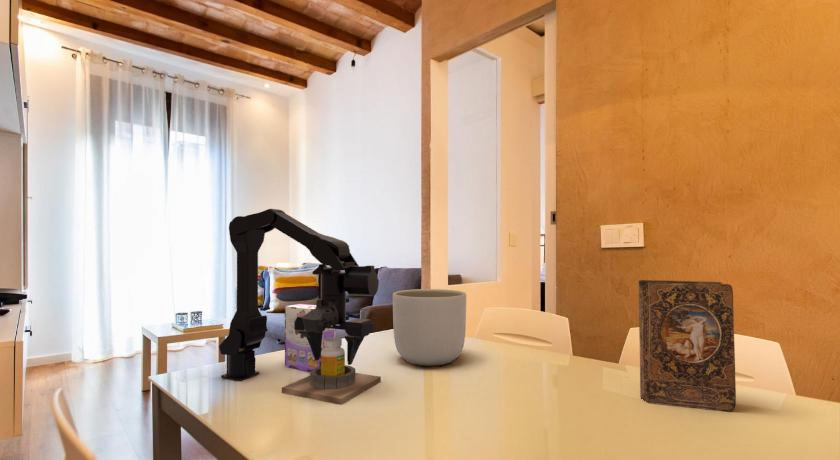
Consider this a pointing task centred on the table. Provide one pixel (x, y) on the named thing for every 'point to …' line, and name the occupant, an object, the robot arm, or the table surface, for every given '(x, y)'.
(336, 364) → the supplement bottle
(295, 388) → the collar holder
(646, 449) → the table surface
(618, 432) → the table surface
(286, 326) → the candy box
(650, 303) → the book
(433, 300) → the planter
